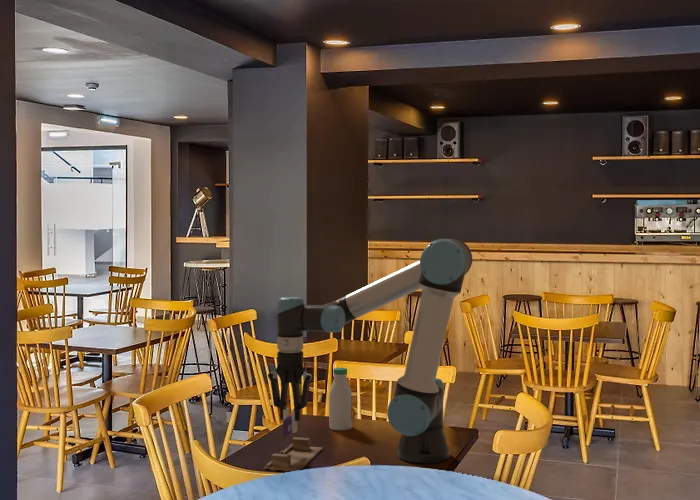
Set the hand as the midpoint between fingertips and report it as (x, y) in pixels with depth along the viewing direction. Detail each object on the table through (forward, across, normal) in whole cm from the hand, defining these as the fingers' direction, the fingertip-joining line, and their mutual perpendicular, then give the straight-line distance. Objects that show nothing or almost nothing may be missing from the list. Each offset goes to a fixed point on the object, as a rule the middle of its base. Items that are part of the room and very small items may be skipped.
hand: (290, 431), depth 223 cm
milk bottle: (+8, +5, +36) cm, 37 cm away
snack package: (+1, 0, 0) cm, 1 cm away
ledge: (+8, +1, 0) cm, 8 cm away
